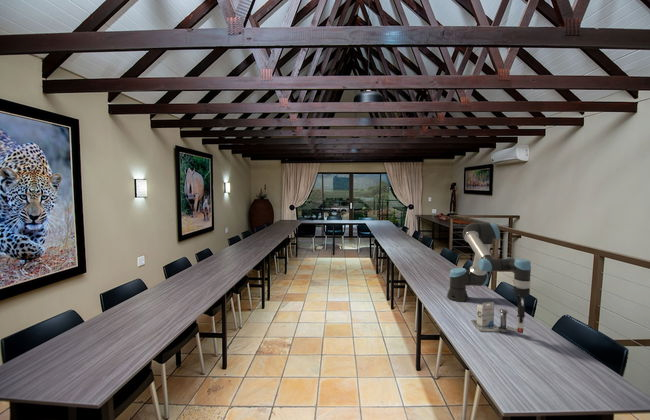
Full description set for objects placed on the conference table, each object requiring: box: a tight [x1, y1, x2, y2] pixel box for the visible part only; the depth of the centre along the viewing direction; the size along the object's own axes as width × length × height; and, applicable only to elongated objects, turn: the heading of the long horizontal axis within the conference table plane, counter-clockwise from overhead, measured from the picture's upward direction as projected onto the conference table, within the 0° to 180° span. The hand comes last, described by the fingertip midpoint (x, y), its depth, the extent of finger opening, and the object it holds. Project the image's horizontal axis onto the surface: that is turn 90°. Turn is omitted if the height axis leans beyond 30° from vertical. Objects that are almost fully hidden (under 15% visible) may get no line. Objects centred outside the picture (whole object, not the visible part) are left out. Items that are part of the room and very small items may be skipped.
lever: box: [506, 325, 524, 334], centre depth 171 cm, size 3×8×8 cm, turn 38°
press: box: [470, 308, 509, 334], centre depth 181 cm, size 14×16×13 cm
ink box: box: [476, 301, 495, 327], centre depth 182 cm, size 9×5×15 cm, turn 102°
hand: (520, 327), depth 166 cm, fingers closed
